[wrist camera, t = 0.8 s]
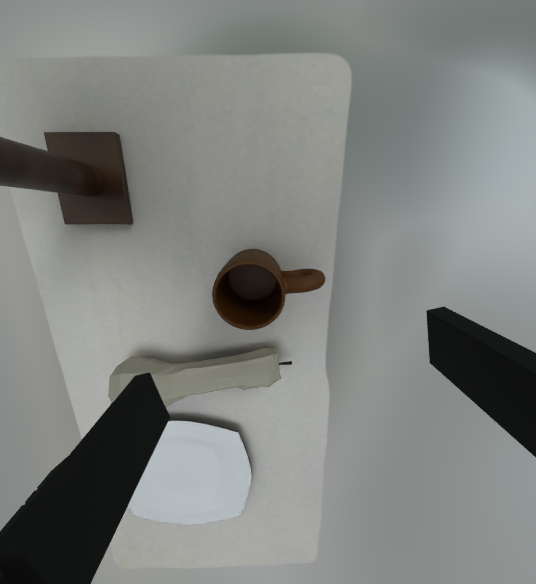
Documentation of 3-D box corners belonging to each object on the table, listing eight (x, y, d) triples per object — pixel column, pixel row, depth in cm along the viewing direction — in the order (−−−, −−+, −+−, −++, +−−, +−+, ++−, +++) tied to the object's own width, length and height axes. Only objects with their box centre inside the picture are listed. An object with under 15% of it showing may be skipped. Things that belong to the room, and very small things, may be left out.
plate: (252, 412, 40) (251, 422, 38) (252, 513, 47) (251, 525, 45) (109, 410, 40) (101, 420, 38) (129, 512, 47) (123, 524, 45)
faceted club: (112, 345, 36) (285, 319, 36) (136, 383, 40) (289, 360, 40) (78, 400, 28) (296, 367, 28) (112, 439, 33) (300, 411, 33)
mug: (309, 236, 32) (325, 243, 23) (316, 291, 35) (334, 317, 26) (219, 253, 33) (201, 267, 24) (232, 306, 35) (220, 337, 26)
